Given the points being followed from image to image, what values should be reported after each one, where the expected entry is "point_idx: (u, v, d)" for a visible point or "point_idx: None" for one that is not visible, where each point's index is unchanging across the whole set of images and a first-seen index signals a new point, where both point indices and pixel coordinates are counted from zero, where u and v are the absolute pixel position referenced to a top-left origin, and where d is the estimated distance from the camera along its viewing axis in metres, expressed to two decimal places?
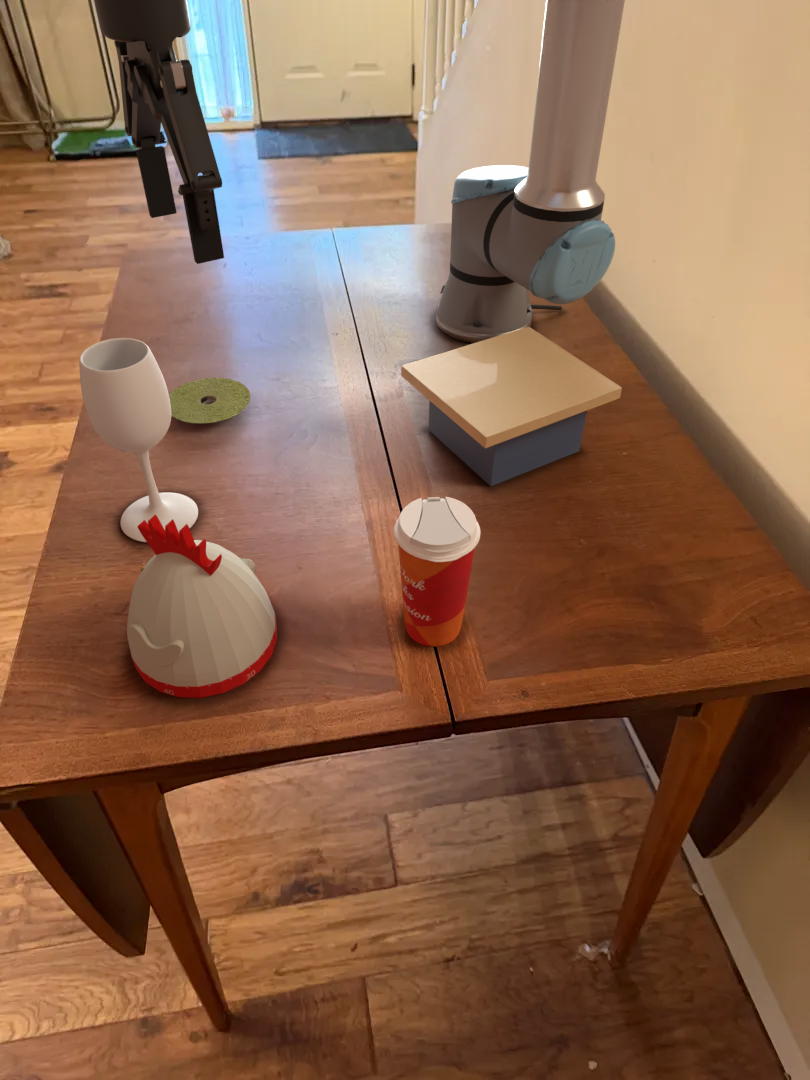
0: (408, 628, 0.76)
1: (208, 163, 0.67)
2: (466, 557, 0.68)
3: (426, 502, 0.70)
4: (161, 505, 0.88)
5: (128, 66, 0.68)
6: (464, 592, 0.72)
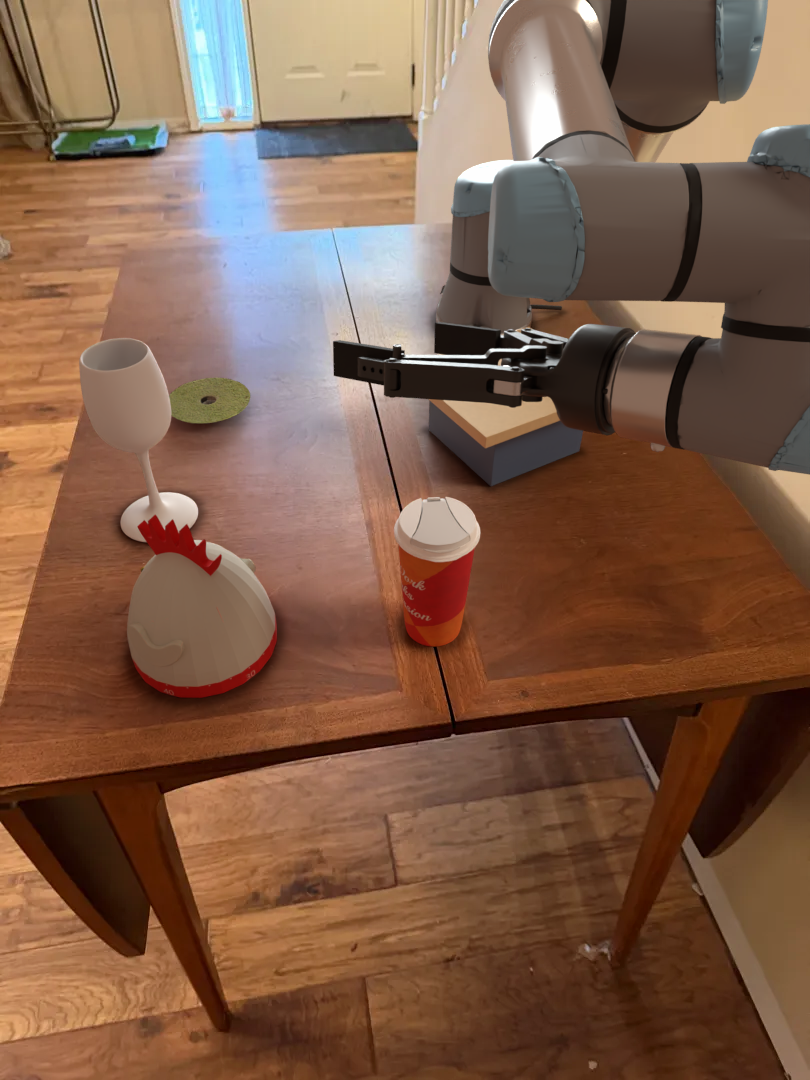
0: (408, 628, 0.76)
1: None
2: (466, 557, 0.68)
3: (426, 502, 0.70)
4: (161, 505, 0.88)
5: None
6: (464, 592, 0.72)
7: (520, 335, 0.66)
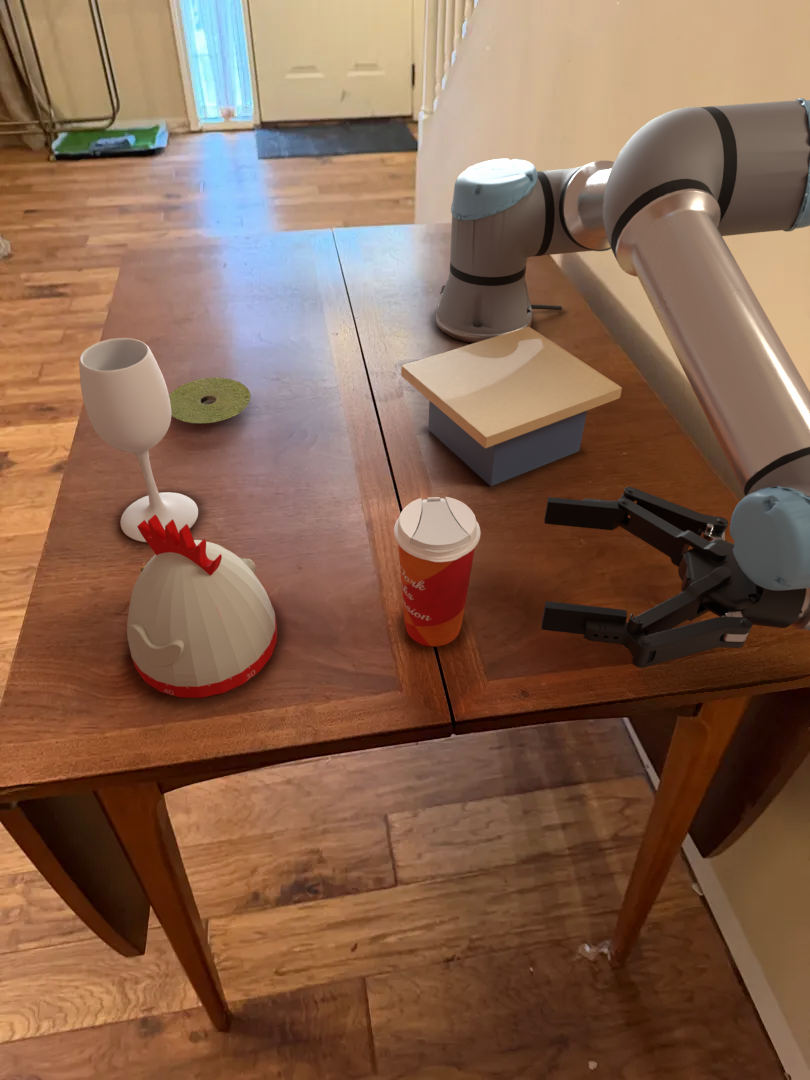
0: (408, 628, 0.76)
1: None
2: (466, 557, 0.68)
3: (426, 502, 0.70)
4: (161, 505, 0.88)
5: None
6: (464, 592, 0.72)
7: (643, 511, 0.72)
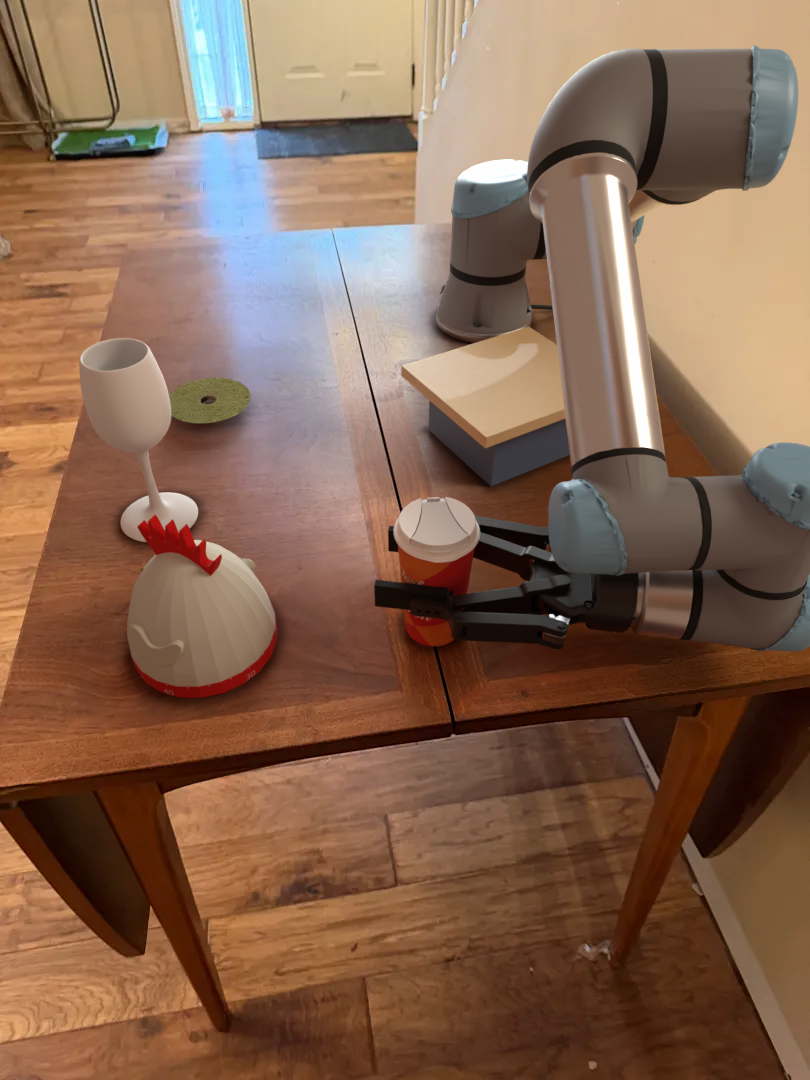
0: (408, 628, 0.76)
1: None
2: (465, 557, 0.68)
3: (426, 502, 0.70)
4: (161, 505, 0.88)
5: None
6: (464, 592, 0.72)
7: (483, 536, 0.74)
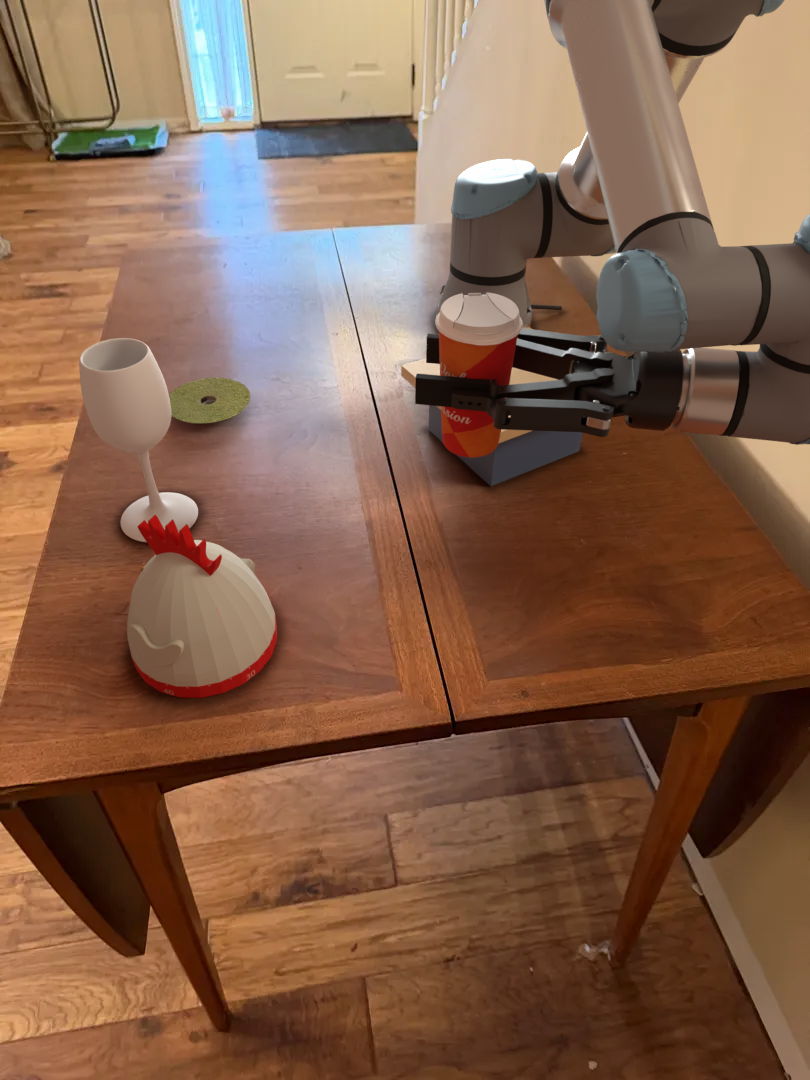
0: (446, 439, 0.75)
1: None
2: (509, 346, 0.67)
3: (467, 296, 0.69)
4: (161, 505, 0.88)
5: None
6: None
7: (523, 342, 0.73)
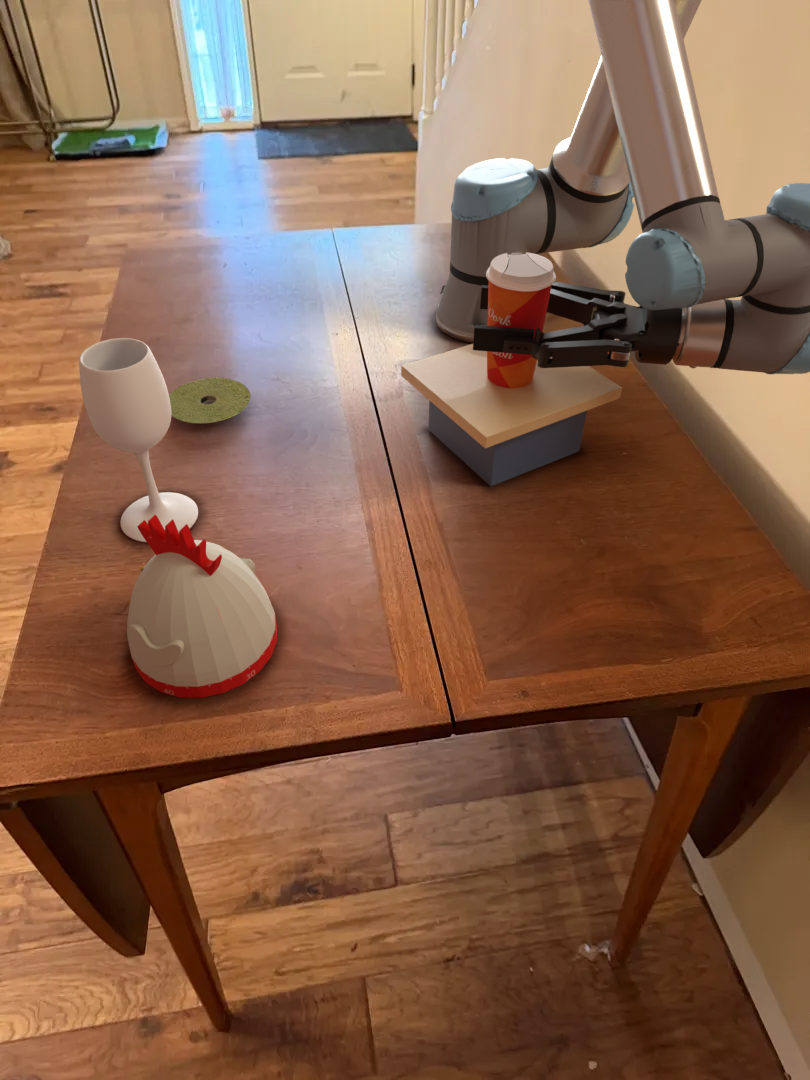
0: (491, 374, 0.93)
1: None
2: (545, 293, 0.85)
3: (511, 255, 0.87)
4: (161, 505, 0.88)
5: None
6: None
7: (558, 292, 0.92)
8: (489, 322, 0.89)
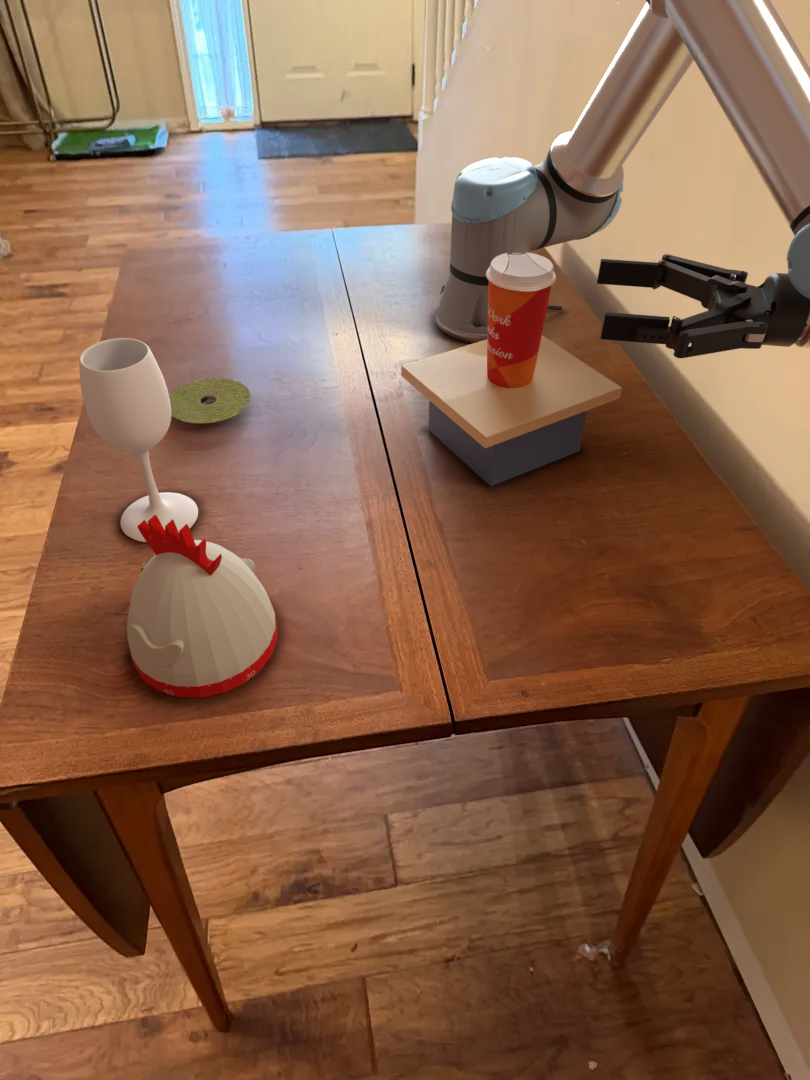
0: (491, 374, 0.93)
1: None
2: (545, 293, 0.85)
3: (511, 255, 0.87)
4: (161, 505, 0.88)
5: None
6: (540, 333, 0.89)
7: (678, 267, 0.89)
8: (489, 322, 0.89)
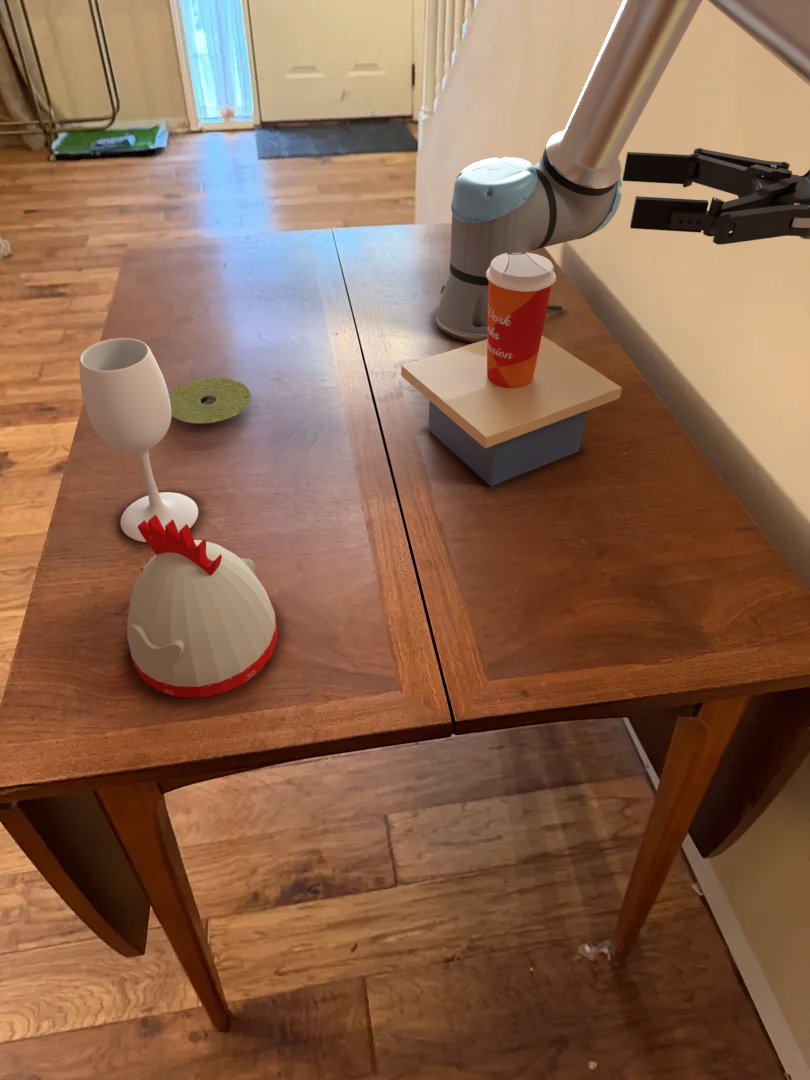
0: (491, 374, 0.93)
1: None
2: (545, 293, 0.85)
3: (511, 255, 0.87)
4: (161, 505, 0.88)
5: None
6: (540, 333, 0.89)
7: (713, 159, 0.81)
8: (489, 322, 0.89)
